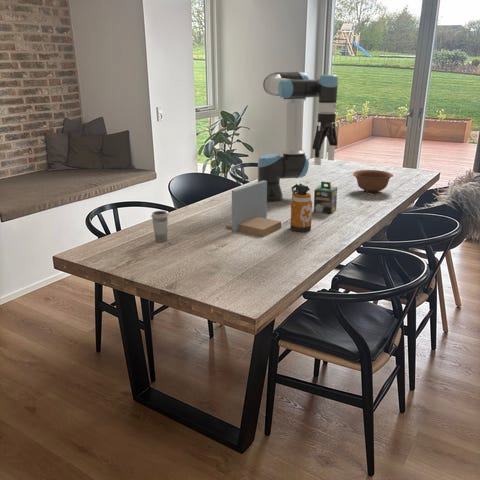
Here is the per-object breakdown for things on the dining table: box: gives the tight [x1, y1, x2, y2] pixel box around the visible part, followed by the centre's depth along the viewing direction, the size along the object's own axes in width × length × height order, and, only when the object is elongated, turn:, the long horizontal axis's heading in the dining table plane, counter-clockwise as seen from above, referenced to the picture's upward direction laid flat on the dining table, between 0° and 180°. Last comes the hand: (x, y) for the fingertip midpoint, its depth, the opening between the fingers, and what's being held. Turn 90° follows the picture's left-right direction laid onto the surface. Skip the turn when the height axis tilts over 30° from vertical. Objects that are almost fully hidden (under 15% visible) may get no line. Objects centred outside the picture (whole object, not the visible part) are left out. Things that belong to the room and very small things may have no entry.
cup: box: [150, 210, 169, 243], centre depth 199 cm, size 7×7×12 cm
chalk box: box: [313, 181, 338, 215], centre depth 239 cm, size 9×9×15 cm
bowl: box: [352, 169, 394, 195], centre depth 275 cm, size 22×22×11 cm
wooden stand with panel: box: [225, 180, 282, 237], centre depth 216 cm, size 20×24×18 cm
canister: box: [289, 183, 313, 232], centre depth 212 cm, size 9×11×20 cm
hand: (324, 162), depth 215 cm, fingers open, 13 cm apart
